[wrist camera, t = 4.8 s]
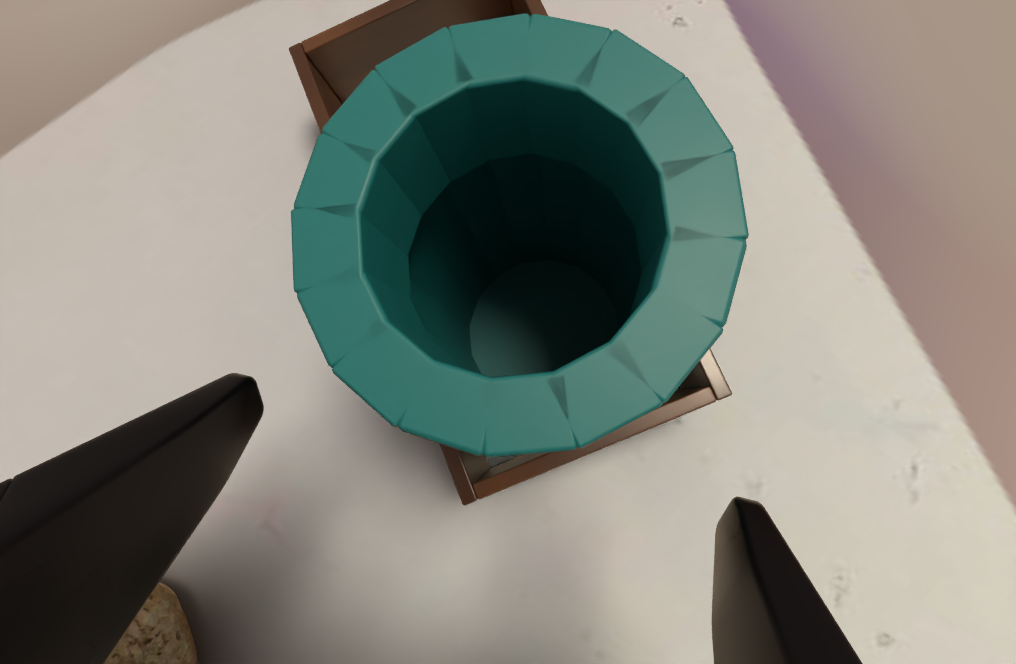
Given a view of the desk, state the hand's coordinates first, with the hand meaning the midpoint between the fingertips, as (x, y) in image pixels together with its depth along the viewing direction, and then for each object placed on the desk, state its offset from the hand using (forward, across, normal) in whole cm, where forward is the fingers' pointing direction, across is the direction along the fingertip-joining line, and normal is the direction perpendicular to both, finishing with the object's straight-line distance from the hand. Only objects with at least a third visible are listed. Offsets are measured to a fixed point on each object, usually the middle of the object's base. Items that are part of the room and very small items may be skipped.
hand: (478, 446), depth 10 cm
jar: (+10, 0, +5) cm, 11 cm away
